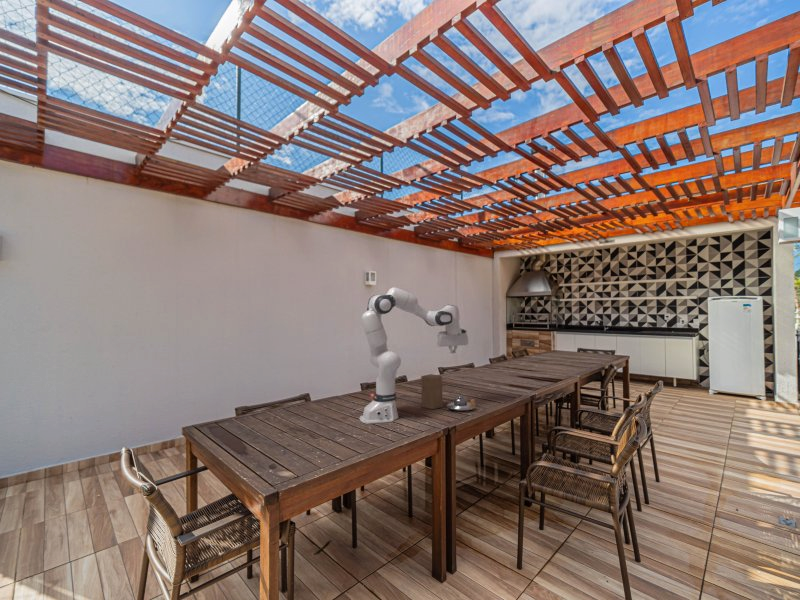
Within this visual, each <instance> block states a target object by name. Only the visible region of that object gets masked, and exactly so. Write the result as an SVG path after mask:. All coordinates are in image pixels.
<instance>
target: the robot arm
mask: <svg viewBox="0 0 800 600" xmlns="http://www.w3.org/2000/svg"><path fill="white" fill-rule="evenodd" d="M394 307H395V308H398V309H399V310H401V311H404V312H407V313H410V314H414V315H415V316H417V317H419V318H421V319H422V320H424V322H425V323H426V324H427V325H428V326H429V327H445V330H444V331H441V330H440V331H439V332H438V333H437V346H438V347H448V349H449V351H450V352H449V353H450V354H456V353H457V349H458V346H467V345H468V344H469V336H468V330H467V329H464V328H462V327H460V326H461V325H460V310H459V307H458V306H457V305H453V304H447V305H445V306H444V307H443V308H441V309H439V310H430V309H429V310H428V309H426V308H425V307H423V306H421V305H420V304H419V299H418V298H417V297H416V296H415V295H414V294H413V293H410V292H408V291H407V290H404V289H401V288H399V287H395V286H394V287H393V286H392V287H391V288H390V289H389V290H388V291H387V293H386V294H374V295H372V296H370V297H369V299H368V302H367V309H366V311H365V312H363V314H362V315H361V323H362V326H363V330H364V333H365V336H366V338H367V341H368V344H369V345H368V346H369V351H370V357H369V361H370V363H371V364H372V365H373V366H374V367H376V368H378V369H379V370H378V376H377V378H376V379H375V380H376V381H375V390H376V391H375V394H374V393H371V394H370V397H371V398H372V401H370V403H368V404H367V405H366V406H365V407H364V409H363V413H362V415H360V416H359V421H360V422H362V423H364V424H366V425H367V424H369V425H370V424H381V423H392V422H394V421H395V420H397V419H399V418H400V417H399V414H398V410H397V392H396V377H397V373H398V369H399V368H400V367H401V364H402V358H401V357H400V356H399V355H398V354H397V353H396V352H395V351H392V350H389V349H388V346H387V342H388V336H387V333H386V331H385V326H384V325H383V322H382V315H386V314H388V313H390V312H391V311H392V310H393V309H394Z"/></svg>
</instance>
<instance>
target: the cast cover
mask: <svg viewBox="0 0 800 600" xmlns="http://www.w3.org/2000/svg"><path fill="white" fill-rule="evenodd" d="M453 402H454V405H455V406H467V402H468V397H466V396H463V395H462V396H460V395H459V396H455V397H453Z"/></svg>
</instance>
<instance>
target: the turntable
mask: <svg viewBox="0 0 800 600" xmlns="http://www.w3.org/2000/svg"><path fill="white" fill-rule="evenodd" d="M446 408H447V409H450V410H453V411H471V410H473V409H475V408H476V402H475V399H474V398H471V399H470V402H469V401H467V406H455V405H454V401H452V402H448V403H447V405H446Z"/></svg>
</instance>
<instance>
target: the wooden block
mask: <svg viewBox="0 0 800 600" xmlns="http://www.w3.org/2000/svg"><path fill="white" fill-rule="evenodd" d="M420 383H421V385H420V386H421V390H420V394H421V407H422V408H424V409H425V408H426V409H429V410H431V411H432V410H436V409H440V408H442V407H443V406H444V405H443V377H442V375H440V374H433V373H432V374H431V373H430V374H425V375H421V376H420Z"/></svg>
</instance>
